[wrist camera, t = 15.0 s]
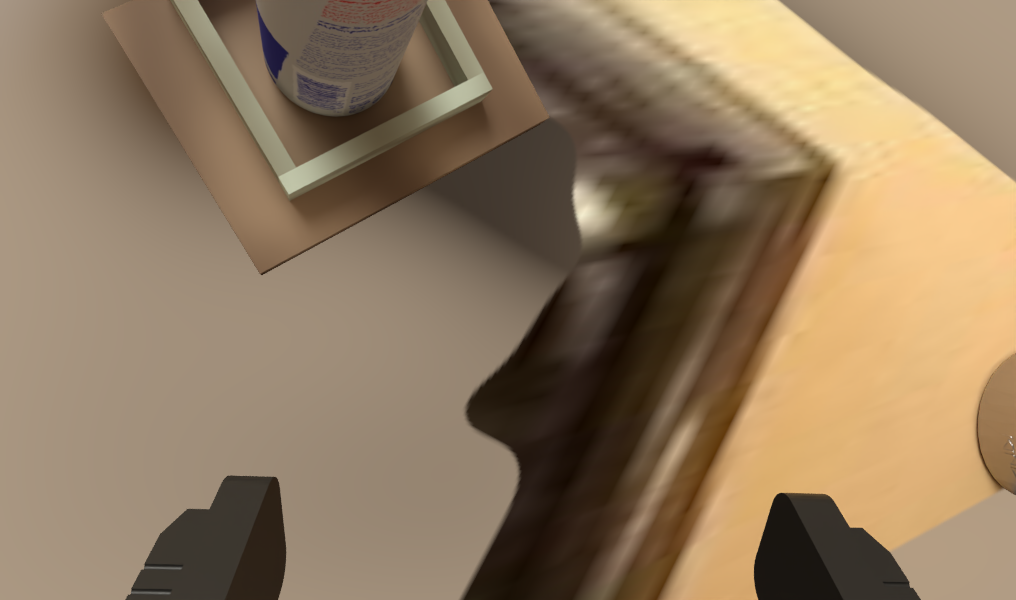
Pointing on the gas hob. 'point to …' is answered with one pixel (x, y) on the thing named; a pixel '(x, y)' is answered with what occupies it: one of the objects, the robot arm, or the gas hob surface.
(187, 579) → the robot arm
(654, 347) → the gas hob surface
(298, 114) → the board
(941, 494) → the gas hob surface
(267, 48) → the beverage can
